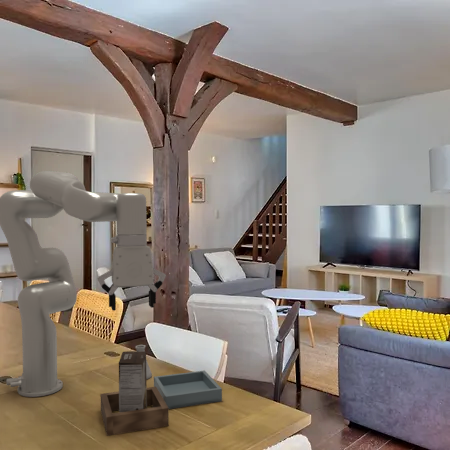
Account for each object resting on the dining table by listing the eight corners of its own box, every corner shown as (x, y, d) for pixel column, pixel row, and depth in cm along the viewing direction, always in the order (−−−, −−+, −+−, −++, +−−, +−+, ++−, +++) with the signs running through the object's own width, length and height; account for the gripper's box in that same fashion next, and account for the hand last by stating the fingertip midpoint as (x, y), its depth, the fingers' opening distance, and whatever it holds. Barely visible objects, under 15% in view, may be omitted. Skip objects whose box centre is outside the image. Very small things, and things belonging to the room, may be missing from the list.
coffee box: (123, 410, 126) (122, 351, 126) (147, 409, 127) (146, 350, 126) (118, 426, 117) (117, 362, 116) (144, 425, 118) (144, 361, 117)
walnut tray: (106, 435, 112) (106, 417, 112) (100, 410, 126) (100, 393, 126) (168, 425, 117) (168, 407, 117) (156, 402, 131) (156, 386, 131)
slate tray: (165, 409, 127) (165, 396, 127) (153, 388, 142) (153, 376, 142) (221, 401, 132) (221, 388, 132) (204, 381, 147) (204, 370, 147)
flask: (147, 381, 147) (147, 350, 147) (125, 380, 149) (125, 348, 148) (155, 373, 154) (155, 343, 154) (134, 372, 156) (134, 342, 155)
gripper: (98, 243, 114) (99, 314, 114) (168, 241, 120) (169, 308, 120) (95, 241, 121) (96, 308, 122) (161, 239, 127) (162, 303, 128)
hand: (132, 308), depth 121 cm, fingers open, 9 cm apart
